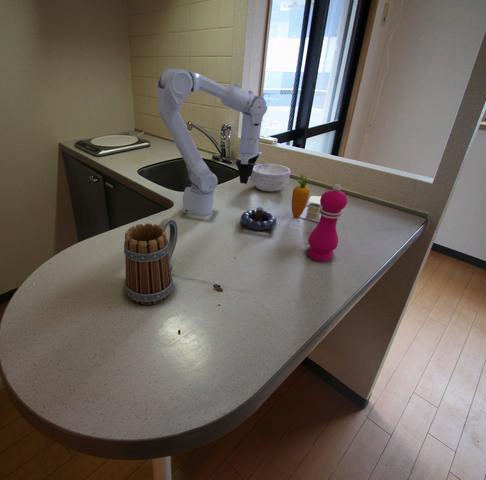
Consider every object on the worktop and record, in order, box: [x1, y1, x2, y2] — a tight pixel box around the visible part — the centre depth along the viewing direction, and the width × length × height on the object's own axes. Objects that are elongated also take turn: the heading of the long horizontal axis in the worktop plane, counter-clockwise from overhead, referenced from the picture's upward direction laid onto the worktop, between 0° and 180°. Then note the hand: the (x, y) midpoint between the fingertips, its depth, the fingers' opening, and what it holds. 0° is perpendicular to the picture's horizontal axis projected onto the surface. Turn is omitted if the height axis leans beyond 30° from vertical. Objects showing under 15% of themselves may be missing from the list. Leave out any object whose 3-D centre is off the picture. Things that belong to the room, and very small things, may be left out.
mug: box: [123, 217, 179, 306], centre depth 69 cm, size 16×11×15 cm
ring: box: [240, 209, 277, 230], centre depth 96 cm, size 11×11×2 cm
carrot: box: [291, 173, 311, 220], centre depth 99 cm, size 5×5×15 cm
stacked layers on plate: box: [299, 195, 322, 223], centre depth 105 cm, size 10×9×6 cm
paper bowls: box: [249, 163, 291, 192], centre depth 125 cm, size 15×15×8 cm
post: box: [240, 206, 273, 234], centre depth 96 cm, size 9×9×6 cm
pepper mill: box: [306, 183, 348, 263], centre depth 80 cm, size 7×7×20 cm
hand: (245, 179), depth 105 cm, fingers open, 7 cm apart
